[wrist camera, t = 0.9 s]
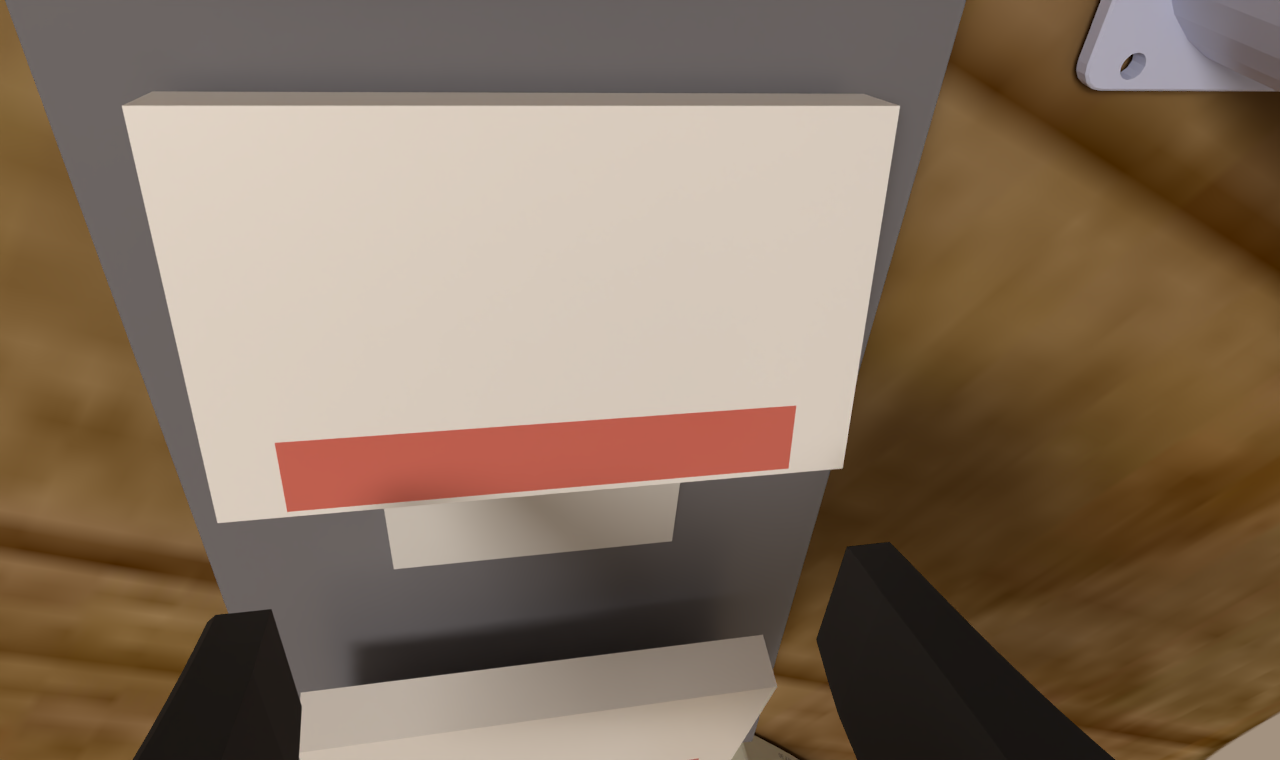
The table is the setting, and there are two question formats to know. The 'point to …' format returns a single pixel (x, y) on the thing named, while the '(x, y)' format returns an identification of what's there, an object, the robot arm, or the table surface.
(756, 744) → the skincare box
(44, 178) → the table surface
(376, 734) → the rocker
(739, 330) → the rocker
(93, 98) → the rocker switch panel
